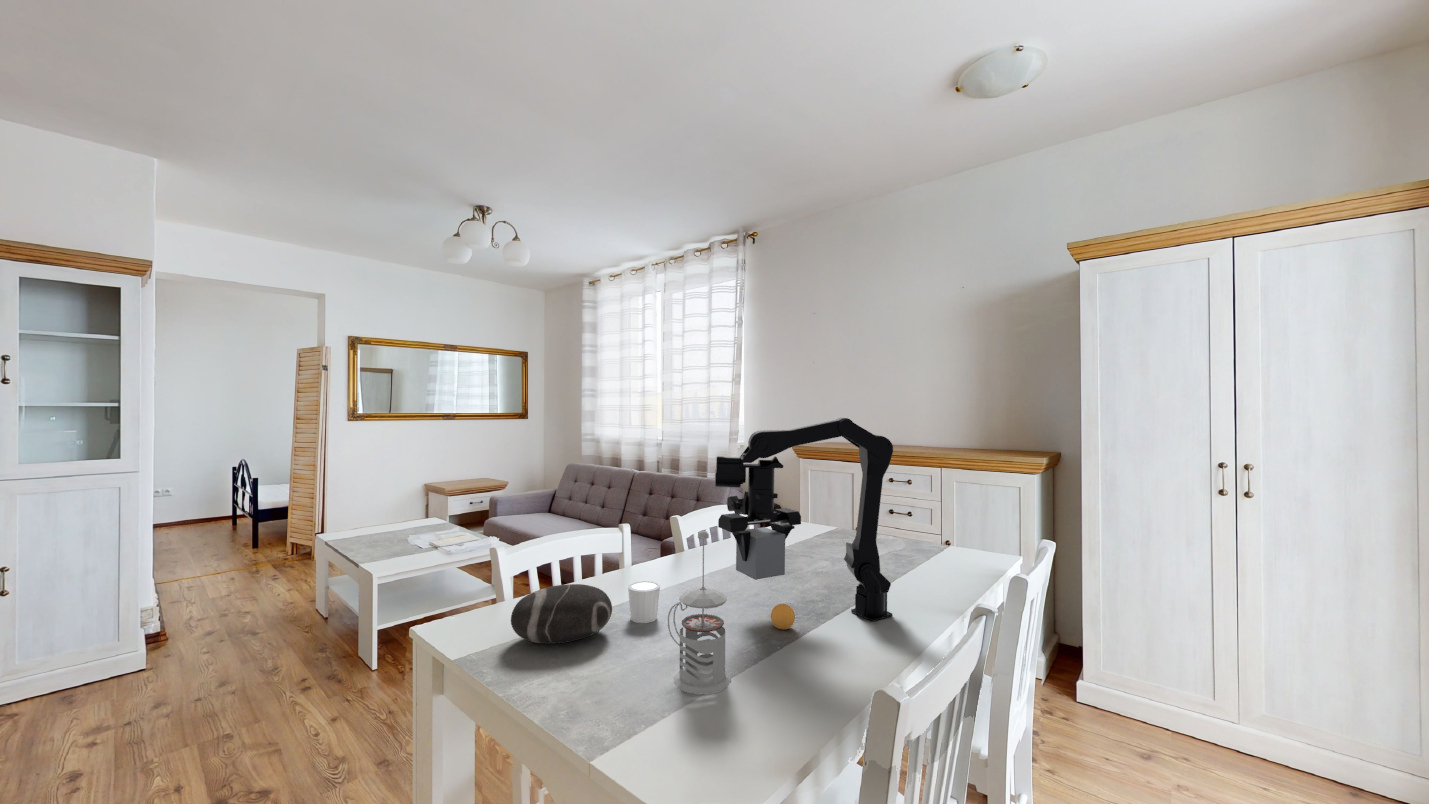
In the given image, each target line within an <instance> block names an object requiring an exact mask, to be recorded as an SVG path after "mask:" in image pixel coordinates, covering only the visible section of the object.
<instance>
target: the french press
mask: <svg viewBox="0 0 1429 804" xmlns="http://www.w3.org/2000/svg"><path fill="white" fill-rule="evenodd" d="M697 538H698V539H701V540H702V586H695V587H693V588H690V589H688V590H686V591H684V592H682V594H680V595H679V597H678V600H679V602H677V603H675V604H673V605H672V606H671V607H670V609H669V612H668V614H667V629H668V631H669V634H670V635H669V636H670V637H671V639H672V640H673V642H674V643H675V644H676V645H678V646H679V671H678V672H677V673H676V674H674V676H673V684H674V686H676V688H677V689H679V690H681V691H682V692H685V693H688V694H689V693H690V694H694V695H711V694H715V693H719V692H722V691H724V690H725V689H727V688H728V687H729V686H730V684H731V683H732V676H731V675H730V674H729V673H728V672H727V671H726V628H725V627H724V625H725V623H724V622H725V621H724V619H723V618H722V617H720V616H717V615H715V614H709V613H704V610H705V609H714V608H718V607H720V606H723V605H724V604H726V602H727V601H728V597H727V595H725V594H724V593H723V592H721V591H720V590H718V589H716V588H714V587H710V586H704V585H705V583H704V582H705V539H709V538H710V535H709V532H708V531H706V530H700V531H699V532H698V534H697ZM683 605H684V606H685V607H684V608H683ZM678 606H680V611H681V612H684V611H685V610H686V609H688V607H690V608H693V609H694V608H695V609H702V610H701V611H702V612H701V613H695V614H691V615H687V616H685V617H684V618H682V620H681V625H682V627H681V628H680V629H679V632H678V629H677V627H676V625H677V624H676V621H675V620H676V610H677V609H678ZM673 609H674V610H673ZM672 611H673V626H674V631H675V633H676V634H677V636H678V637H679V642H678V641H677V640H676V639H675V637H674V636H673V635H672V631H671V628H670V615H671V613H672ZM684 629H685V636H684ZM714 632H716V633H717V634H718V635H719V636H718V635H717V634H716V633H714ZM698 633H699V634H698ZM708 636H709V637H712V639H711V638H706V639H702V640H700V638H702V637H708ZM684 644H685V646H684ZM684 652H685V653H684ZM712 653H713V654H712ZM698 654H700V655H698ZM724 688H725V689H724Z"/></svg>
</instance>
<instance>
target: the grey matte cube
mask: <svg viewBox="0 0 1429 804" xmlns="http://www.w3.org/2000/svg"><path fill="white" fill-rule="evenodd" d="M747 531H749V532H751V535H750V543H749V552H748V558H747V561H743V560H742V557H741V554H740V550H739V547H738V544H737V542H735V543H736V544H735V545H736V547H735V549H736V550H735V552H736V553H735V555H736V556H735V571H737V572H739V573H741V574H743V575H745V576H747V577H749V578H752V579H753V580H762V579H768V578H772V577H774V578H775V577H779V576H784V575H786V572H785V571H786V568H785V567H786V540H785V534H783V533H780V532H777V531H774V530H772V528H768V527H766V526H765V527H757V528H756V527H755V528H747Z"/></svg>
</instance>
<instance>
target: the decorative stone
mask: <svg viewBox="0 0 1429 804" xmlns="http://www.w3.org/2000/svg"><path fill="white" fill-rule="evenodd" d="M612 612H613V604H612V601H611V598H610V597H609V596H608V594H607V593H606V592H605V591H603V590H602V589H601V588H599V587H596V586H593V585H587V584H584V583H583V584H582V583H579V584H577V583H576V584H575V583H574V584H573V583H572V584H571V583H569V584H557V585H551V586H548V587H545V588H541V589H539V590H536V591H535V590H534V591H533V592H530V593H528V594H526V595H524V596H523V597H522V598H521V599H520V600H519V601H518V602H517V603H516V604H515V606H514V607H513V610H512V612H511V615H510V624H511V628H512V630H513V632H514V633H516V635H517V636H519V638H521V639H523V640H525V641H528V642H530V643H531V642H532V643H534V644H535V643H536V644H562V643H570V642H573V641H577V640H581V639H584V638H588V637H589V636H592V635H594V634H596V633H598V632H600V631H601V630H602V629H604V627H605V626H606V625H607V624H608V622H609V621H610V619H611V617H612Z"/></svg>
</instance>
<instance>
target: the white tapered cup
mask: <svg viewBox="0 0 1429 804" xmlns="http://www.w3.org/2000/svg"><path fill="white" fill-rule="evenodd" d="M660 588H661V584H659V583H658V582H654V581H650V580H649V581H647V580H645V581H644V580H643V581H636V582H632V583H631V584H629V585H628V587H627V589H628V592H627V593H628V601H629V603H628V604H629V612H630V615H629V616H630V620H631V621H632V622H634V623H638V624H647V623H652V622H655V621H656V620H657V619H658V611H659V600H660V590H661V589H660Z"/></svg>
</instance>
